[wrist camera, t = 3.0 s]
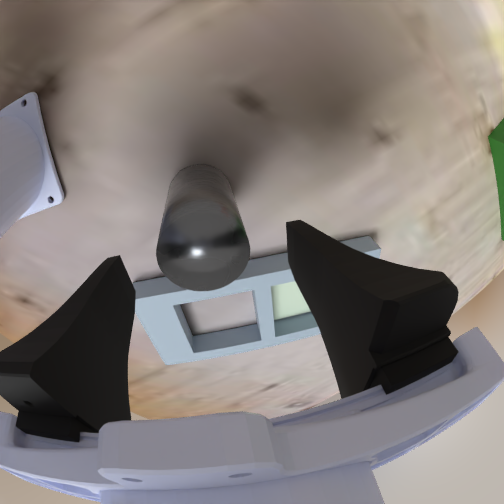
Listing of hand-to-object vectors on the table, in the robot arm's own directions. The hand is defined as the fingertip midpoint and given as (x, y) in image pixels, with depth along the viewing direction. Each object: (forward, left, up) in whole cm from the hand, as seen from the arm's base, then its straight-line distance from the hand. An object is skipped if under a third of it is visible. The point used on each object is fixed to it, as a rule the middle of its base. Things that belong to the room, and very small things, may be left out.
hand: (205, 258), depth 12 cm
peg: (0, 0, -7) cm, 7 cm away
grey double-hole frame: (+3, -10, -7) cm, 13 cm away
